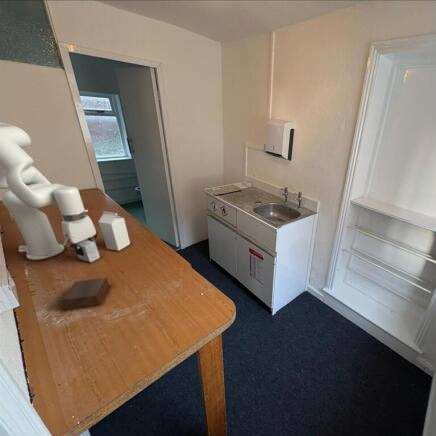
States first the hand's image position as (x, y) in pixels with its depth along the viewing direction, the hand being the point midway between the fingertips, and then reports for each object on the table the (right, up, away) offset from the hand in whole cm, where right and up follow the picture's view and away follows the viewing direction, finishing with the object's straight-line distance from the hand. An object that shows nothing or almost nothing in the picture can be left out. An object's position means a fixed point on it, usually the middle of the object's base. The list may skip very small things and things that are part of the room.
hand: (87, 251), depth 106 cm
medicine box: (0, -4, +2) cm, 4 cm away
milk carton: (+5, +1, +12) cm, 13 cm away
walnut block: (+18, -15, -19) cm, 30 cm away
